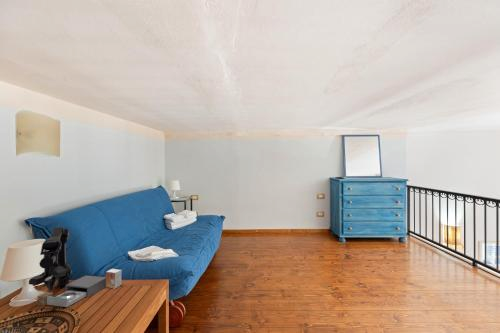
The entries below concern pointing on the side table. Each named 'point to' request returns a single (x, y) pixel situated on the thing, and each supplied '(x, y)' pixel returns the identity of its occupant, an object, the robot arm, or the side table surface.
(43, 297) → the pedestal
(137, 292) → the side table surface
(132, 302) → the side table surface
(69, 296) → the disc
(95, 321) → the side table surface
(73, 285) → the housing
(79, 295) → the tray
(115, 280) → the small box
